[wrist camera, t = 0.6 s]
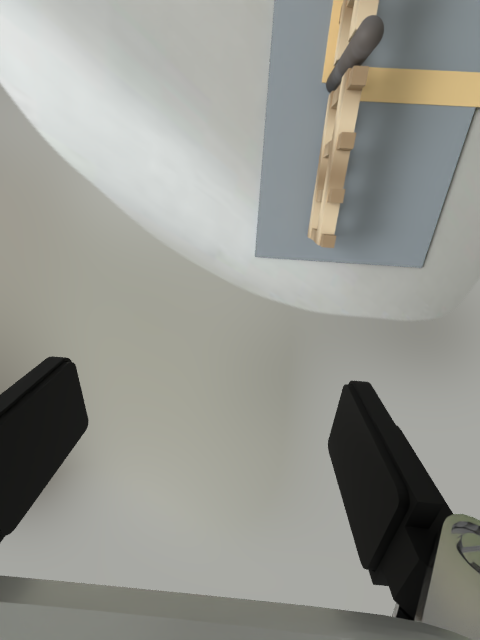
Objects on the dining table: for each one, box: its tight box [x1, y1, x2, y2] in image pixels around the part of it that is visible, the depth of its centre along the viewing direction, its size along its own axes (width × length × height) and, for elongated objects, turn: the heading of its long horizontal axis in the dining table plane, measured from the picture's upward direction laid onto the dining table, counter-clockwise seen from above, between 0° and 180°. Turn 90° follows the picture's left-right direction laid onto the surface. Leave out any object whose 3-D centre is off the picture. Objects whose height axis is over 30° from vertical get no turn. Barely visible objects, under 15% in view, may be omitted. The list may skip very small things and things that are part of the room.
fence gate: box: [307, 66, 369, 248], centre depth 24 cm, size 12×1×7 cm, turn 177°
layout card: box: [255, 0, 480, 268], centre depth 26 cm, size 26×20×1 cm
